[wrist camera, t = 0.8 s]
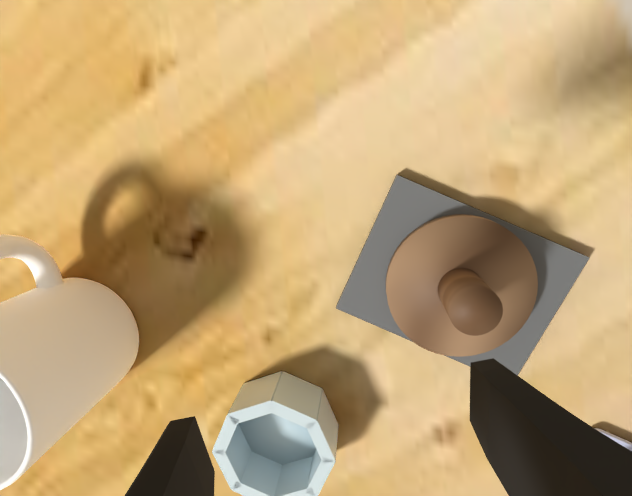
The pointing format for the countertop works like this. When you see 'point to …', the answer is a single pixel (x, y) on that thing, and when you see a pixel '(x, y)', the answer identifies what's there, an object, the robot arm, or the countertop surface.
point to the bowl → (278, 438)
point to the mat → (425, 205)
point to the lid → (461, 285)
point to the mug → (55, 355)
